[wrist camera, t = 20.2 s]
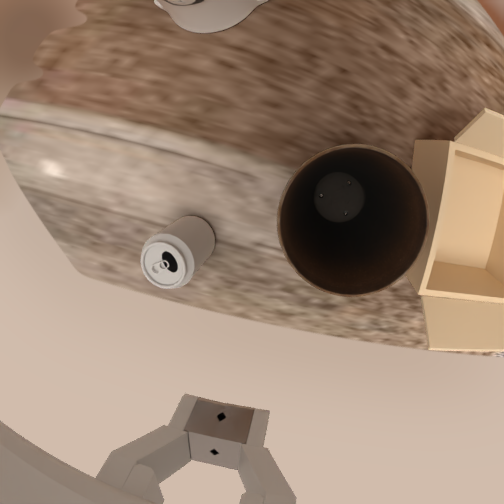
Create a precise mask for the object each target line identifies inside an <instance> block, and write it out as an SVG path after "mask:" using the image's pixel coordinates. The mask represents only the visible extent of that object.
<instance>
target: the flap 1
mask: <svg viewBox="0 0 504 504" xmlns="http://www.w3.org/2000/svg"><path fill="white" fill-rule="evenodd" d="M454 141H455V142H457V143H461V144H464V145H467V146H470V147H473V148H476V149H479V150H482V151H485V152H488V153H491V154H494V155H497V156H500V157H502V158H504V115H501V114H499V113H497V112H494V111H492V110H489V109H487V108H484V109H483V110H482V111H481V112H480V113H479V114H478V115H477V116H476V117H475V118H474V119H473V120H472V121H471V122H470V123H469V124H468V125H467V126H466V127H465V128H464V129H463V130H462V131H461V132H460V133H458V134H457V135H456V136H455V137H454Z"/></svg>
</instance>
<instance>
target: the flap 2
mask: <svg viewBox="0 0 504 504" xmlns="http://www.w3.org/2000/svg"><path fill="white" fill-rule="evenodd" d="M421 304H422V310H423V316H424V322H425V329H426V337H427V344H428V350H444V351H504V304H495V303H485V302H475V301H466V300H456V299H447V298H438V297H429V296H422V297H421Z"/></svg>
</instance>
